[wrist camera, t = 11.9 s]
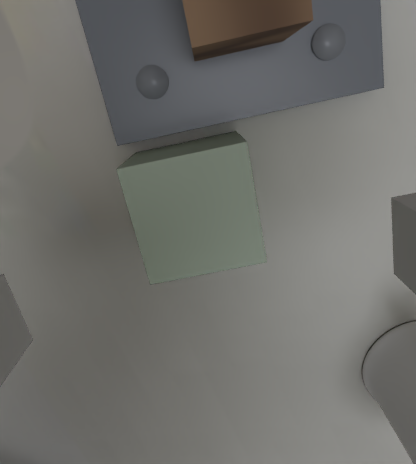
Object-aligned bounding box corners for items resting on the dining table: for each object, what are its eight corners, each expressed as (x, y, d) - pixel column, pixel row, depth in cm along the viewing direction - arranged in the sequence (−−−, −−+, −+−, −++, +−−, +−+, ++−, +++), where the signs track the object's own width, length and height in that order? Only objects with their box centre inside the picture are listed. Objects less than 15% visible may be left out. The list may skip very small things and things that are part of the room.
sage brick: (161, 244, 26) (150, 284, 20) (136, 152, 24) (116, 169, 18) (252, 225, 26) (267, 262, 20) (235, 131, 23) (246, 141, 18)
